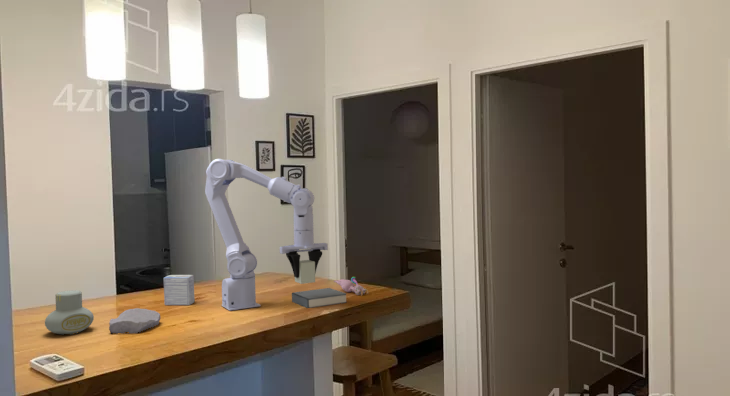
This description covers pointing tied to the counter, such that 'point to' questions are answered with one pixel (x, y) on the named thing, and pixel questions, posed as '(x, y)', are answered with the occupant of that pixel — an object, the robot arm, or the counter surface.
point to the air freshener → (69, 314)
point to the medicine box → (179, 290)
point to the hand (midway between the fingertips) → (304, 276)
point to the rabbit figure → (351, 286)
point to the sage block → (306, 272)
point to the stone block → (134, 321)
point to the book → (318, 297)
